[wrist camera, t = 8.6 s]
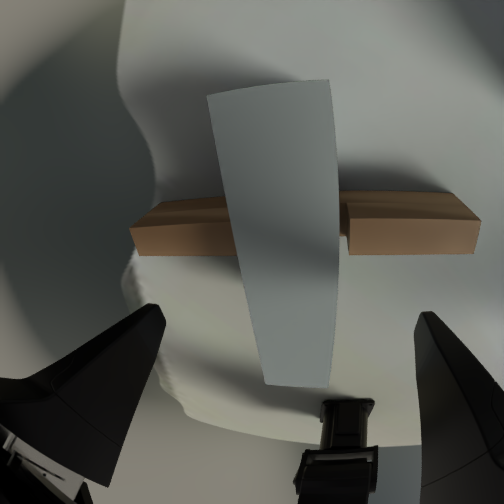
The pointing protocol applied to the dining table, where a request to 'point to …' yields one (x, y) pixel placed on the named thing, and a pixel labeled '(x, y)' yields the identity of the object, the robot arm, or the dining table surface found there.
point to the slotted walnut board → (350, 224)
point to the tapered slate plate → (284, 220)
